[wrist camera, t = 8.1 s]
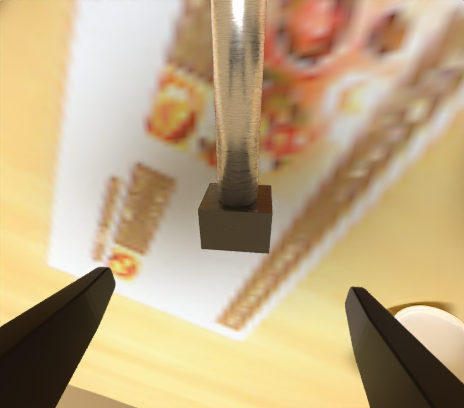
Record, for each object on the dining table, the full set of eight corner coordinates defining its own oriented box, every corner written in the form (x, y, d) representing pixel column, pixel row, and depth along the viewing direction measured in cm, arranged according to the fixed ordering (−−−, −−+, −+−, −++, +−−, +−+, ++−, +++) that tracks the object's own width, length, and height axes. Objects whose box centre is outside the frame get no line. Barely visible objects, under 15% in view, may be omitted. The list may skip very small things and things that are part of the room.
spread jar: (382, 377, 31) (438, 525, 21) (327, 333, 28) (362, 481, 18) (489, 344, 26) (629, 518, 16) (435, 286, 23) (565, 456, 13)
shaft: (268, 220, 15) (268, 253, 13) (211, 218, 16) (201, 248, 13) (324, -497, 6) (376, -985, 3) (173, -463, 6) (102, -872, 3)
